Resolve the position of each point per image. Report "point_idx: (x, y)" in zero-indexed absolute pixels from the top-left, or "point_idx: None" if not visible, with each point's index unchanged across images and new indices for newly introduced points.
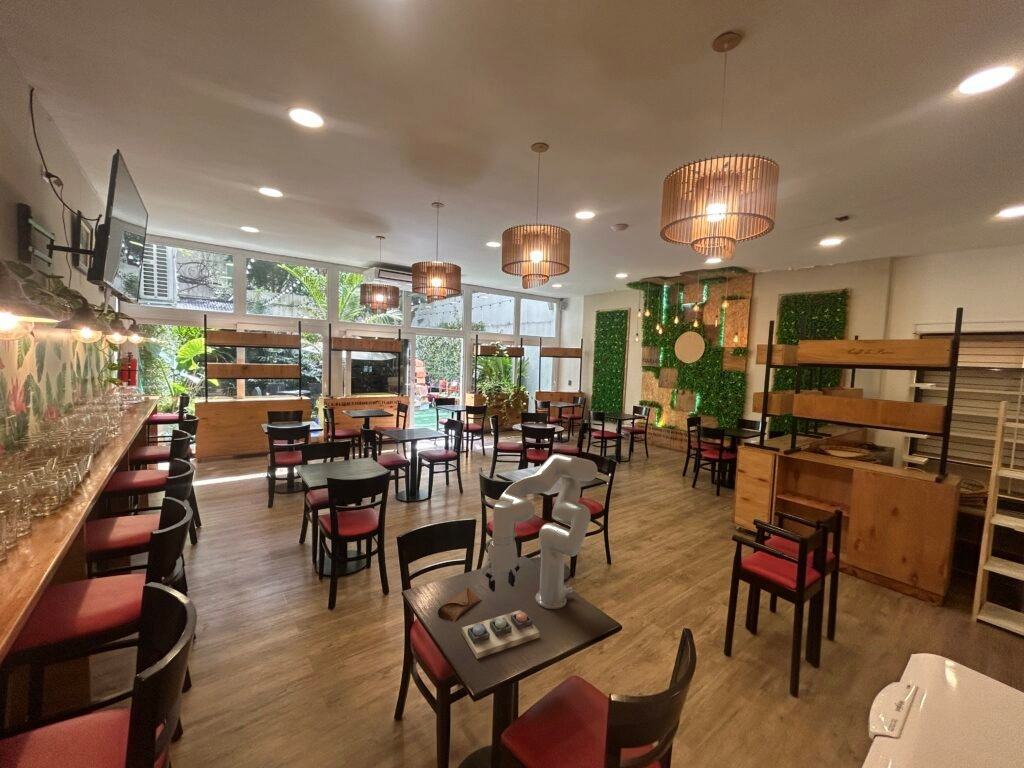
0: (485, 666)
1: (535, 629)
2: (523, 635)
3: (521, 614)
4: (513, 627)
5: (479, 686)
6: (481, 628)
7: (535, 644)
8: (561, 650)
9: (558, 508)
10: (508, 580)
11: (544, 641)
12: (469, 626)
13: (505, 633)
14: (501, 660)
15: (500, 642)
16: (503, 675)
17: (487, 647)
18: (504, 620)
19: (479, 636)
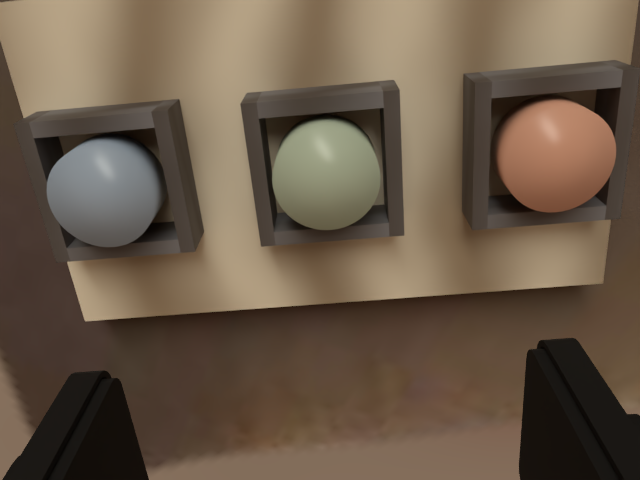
0: (140, 365)
1: (592, 248)
2: (467, 276)
3: (567, 147)
4: (441, 168)
5: None
6: (126, 205)
7: (516, 310)
8: (631, 401)
9: None
10: (544, 382)
11: (590, 306)
12: (66, 14)
13: None
14: (247, 356)
15: (273, 286)
16: (222, 444)
17: (167, 299)
18: (368, 173)
19: (104, 253)
